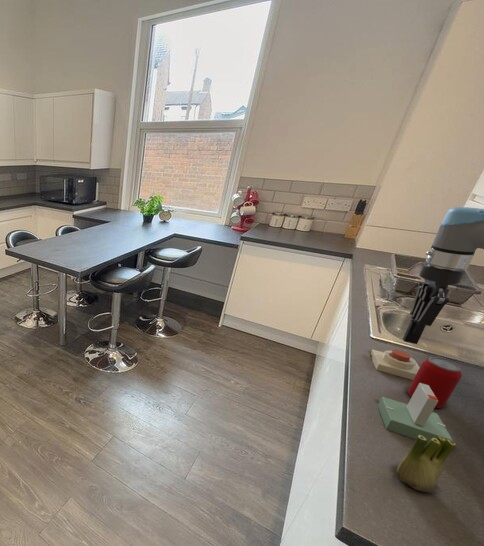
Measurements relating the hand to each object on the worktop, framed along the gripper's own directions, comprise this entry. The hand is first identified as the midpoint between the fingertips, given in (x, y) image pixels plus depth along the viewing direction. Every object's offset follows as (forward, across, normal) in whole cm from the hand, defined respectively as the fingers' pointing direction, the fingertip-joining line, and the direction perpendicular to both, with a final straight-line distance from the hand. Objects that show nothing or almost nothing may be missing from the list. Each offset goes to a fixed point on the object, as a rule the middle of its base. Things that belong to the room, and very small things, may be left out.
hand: (409, 341), depth 91 cm
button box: (+10, 0, -1) cm, 10 cm away
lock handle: (+7, +28, -4) cm, 29 cm away
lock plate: (+10, +28, -4) cm, 30 cm away
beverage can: (+10, +14, +2) cm, 17 cm away
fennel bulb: (+10, +47, -8) cm, 48 cm away
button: (+6, 0, -1) cm, 6 cm away
